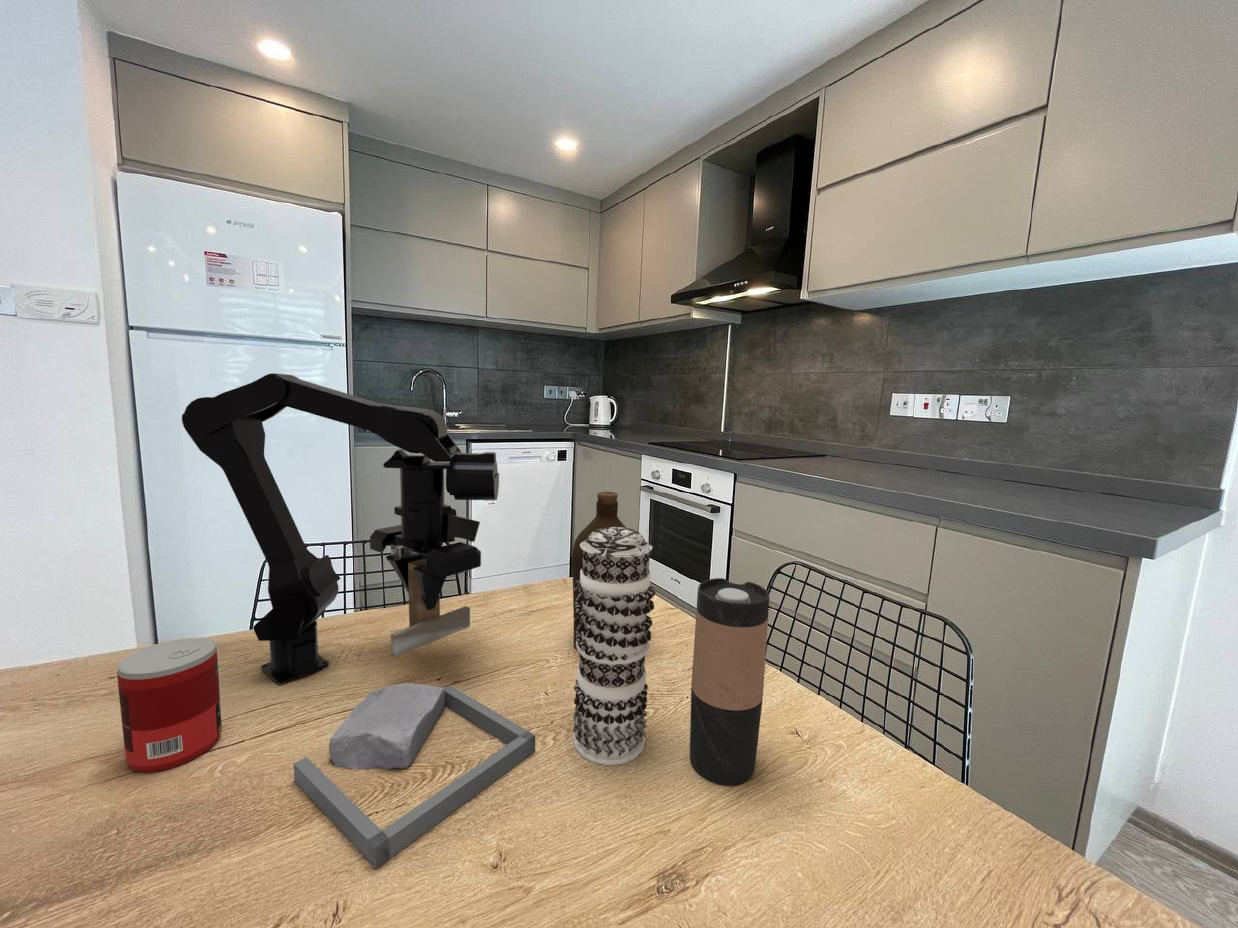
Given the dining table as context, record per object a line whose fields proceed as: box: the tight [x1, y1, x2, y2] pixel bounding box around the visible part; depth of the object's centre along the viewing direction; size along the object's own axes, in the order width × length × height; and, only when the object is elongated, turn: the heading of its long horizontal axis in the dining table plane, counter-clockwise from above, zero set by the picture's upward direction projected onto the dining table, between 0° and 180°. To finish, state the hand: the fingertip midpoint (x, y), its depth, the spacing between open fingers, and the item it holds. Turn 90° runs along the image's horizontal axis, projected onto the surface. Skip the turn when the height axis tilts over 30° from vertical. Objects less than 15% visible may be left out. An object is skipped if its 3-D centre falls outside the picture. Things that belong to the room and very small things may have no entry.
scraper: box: [390, 558, 471, 658], centre depth 73 cm, size 4×12×11 cm, turn 144°
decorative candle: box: [572, 527, 656, 766], centre depth 58 cm, size 9×9×25 cm
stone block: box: [328, 682, 445, 771], centre depth 59 cm, size 12×5×10 cm
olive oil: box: [571, 491, 627, 650], centre depth 81 cm, size 11×11×25 cm
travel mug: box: [689, 577, 770, 786], centre depth 55 cm, size 8×8×20 cm
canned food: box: [117, 637, 223, 773], centre depth 55 cm, size 8×8×11 cm
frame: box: [293, 684, 536, 869], centre depth 54 cm, size 16×18×2 cm
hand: (424, 605), depth 73 cm, fingers closed on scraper, 3 cm apart
